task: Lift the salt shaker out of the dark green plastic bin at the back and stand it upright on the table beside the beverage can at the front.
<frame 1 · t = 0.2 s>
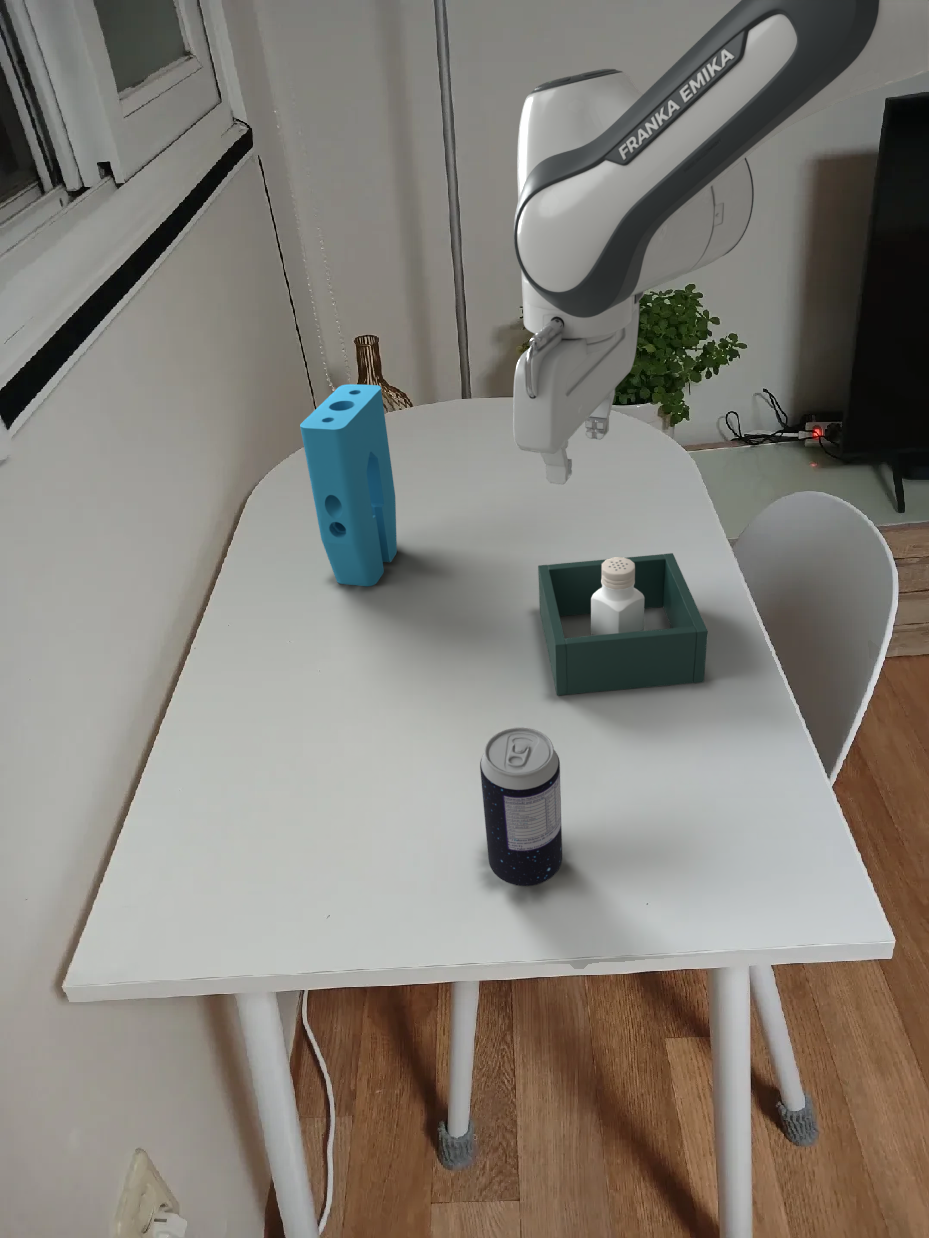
hand: (579, 457, 85), 21 cm above the table, tool pointing down, fingers open, 8 cm apart
bin: (616, 645, 96), on the table
salt shaker: (616, 647, 96), resting in bin
beverage can: (525, 866, 74), on the table
block: (367, 567, 113), on the table
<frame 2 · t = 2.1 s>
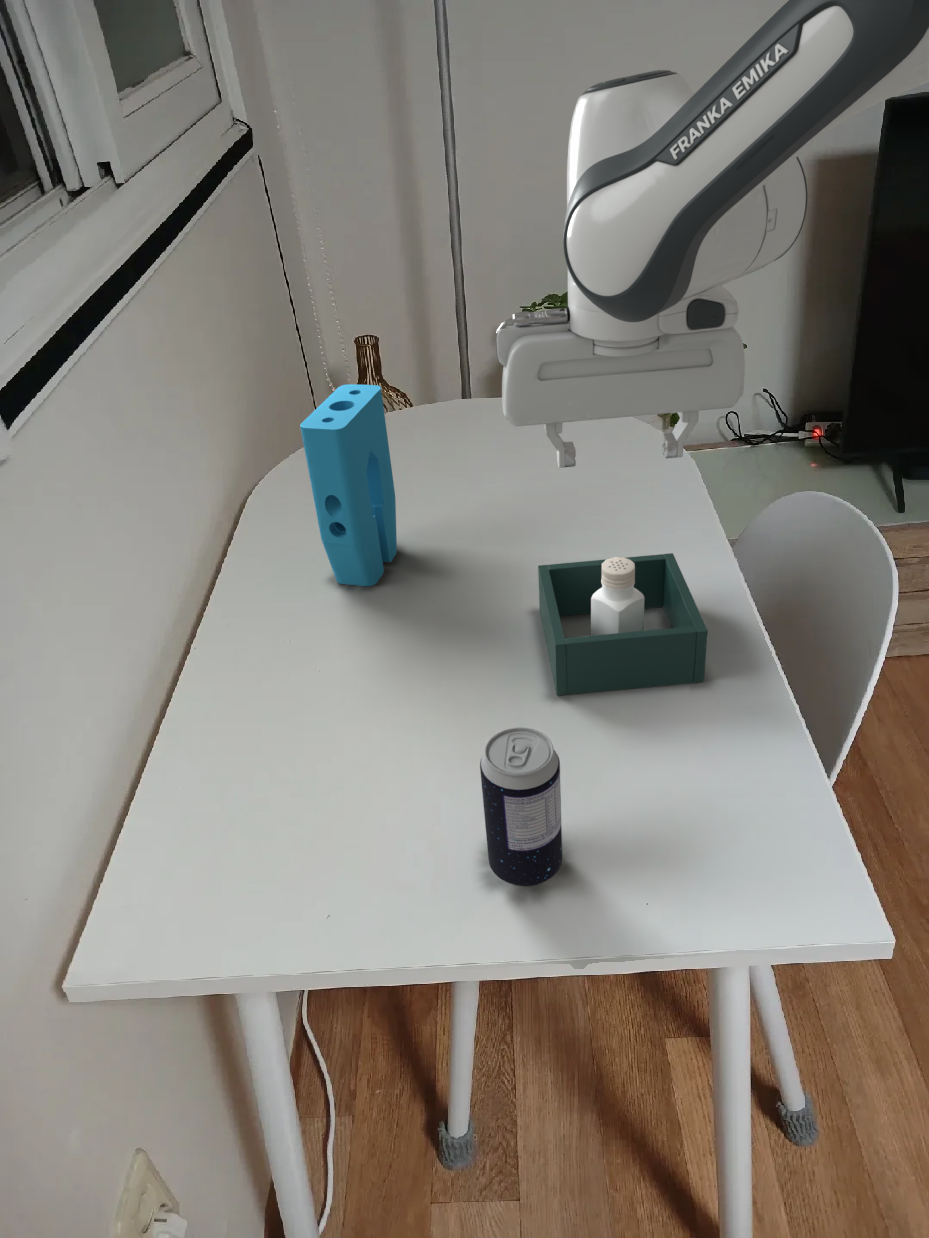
hand: (619, 460, 84), 20 cm above the table, tool pointing down, fingers open, 8 cm apart
nothing on the table moved.
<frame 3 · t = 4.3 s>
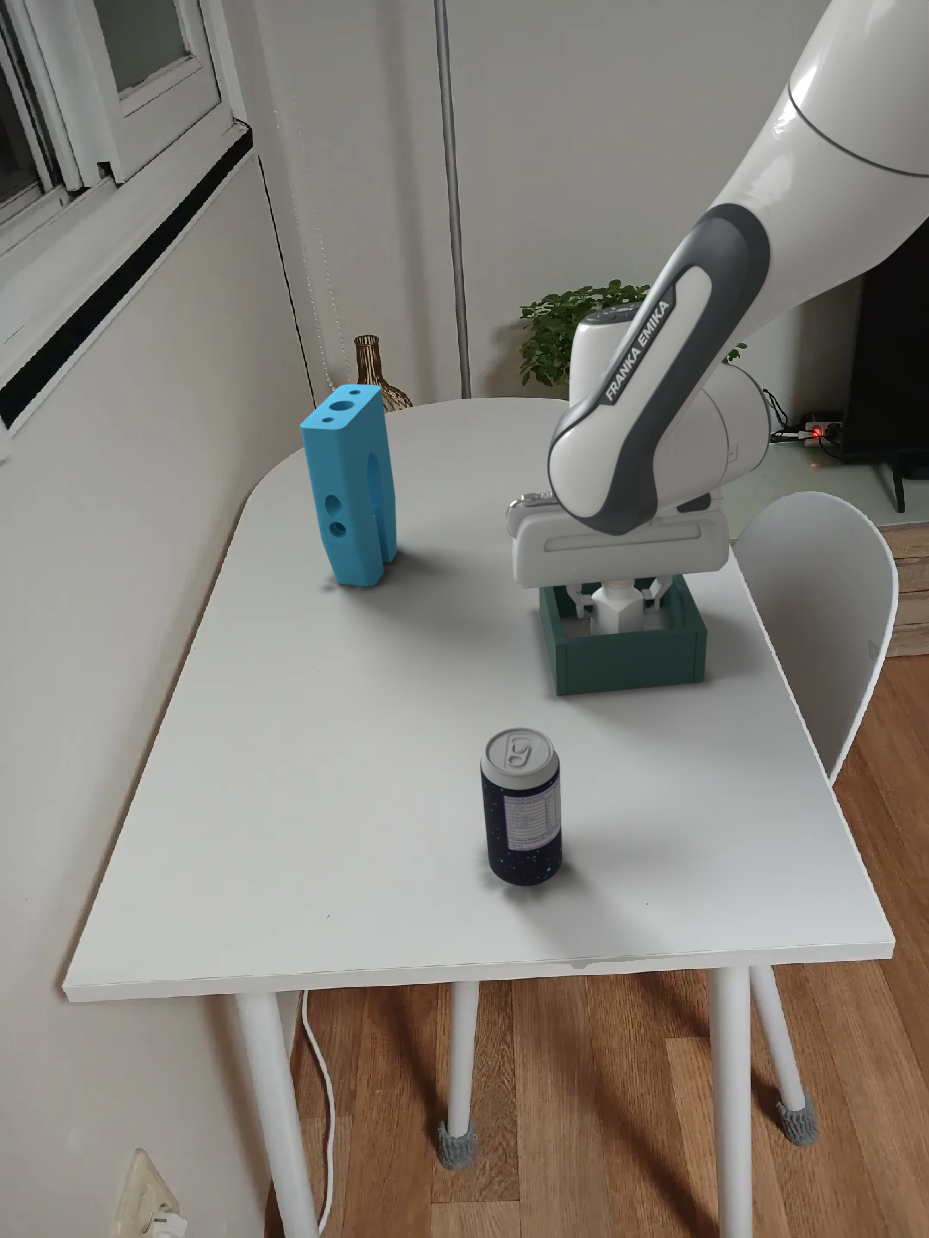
hand: (617, 611, 94), 4 cm above the table, tool pointing down, fingers closed on salt shaker, 5 cm apart
salt shaker: (616, 647, 96), resting in bin, touching gripper
everything else where it was.
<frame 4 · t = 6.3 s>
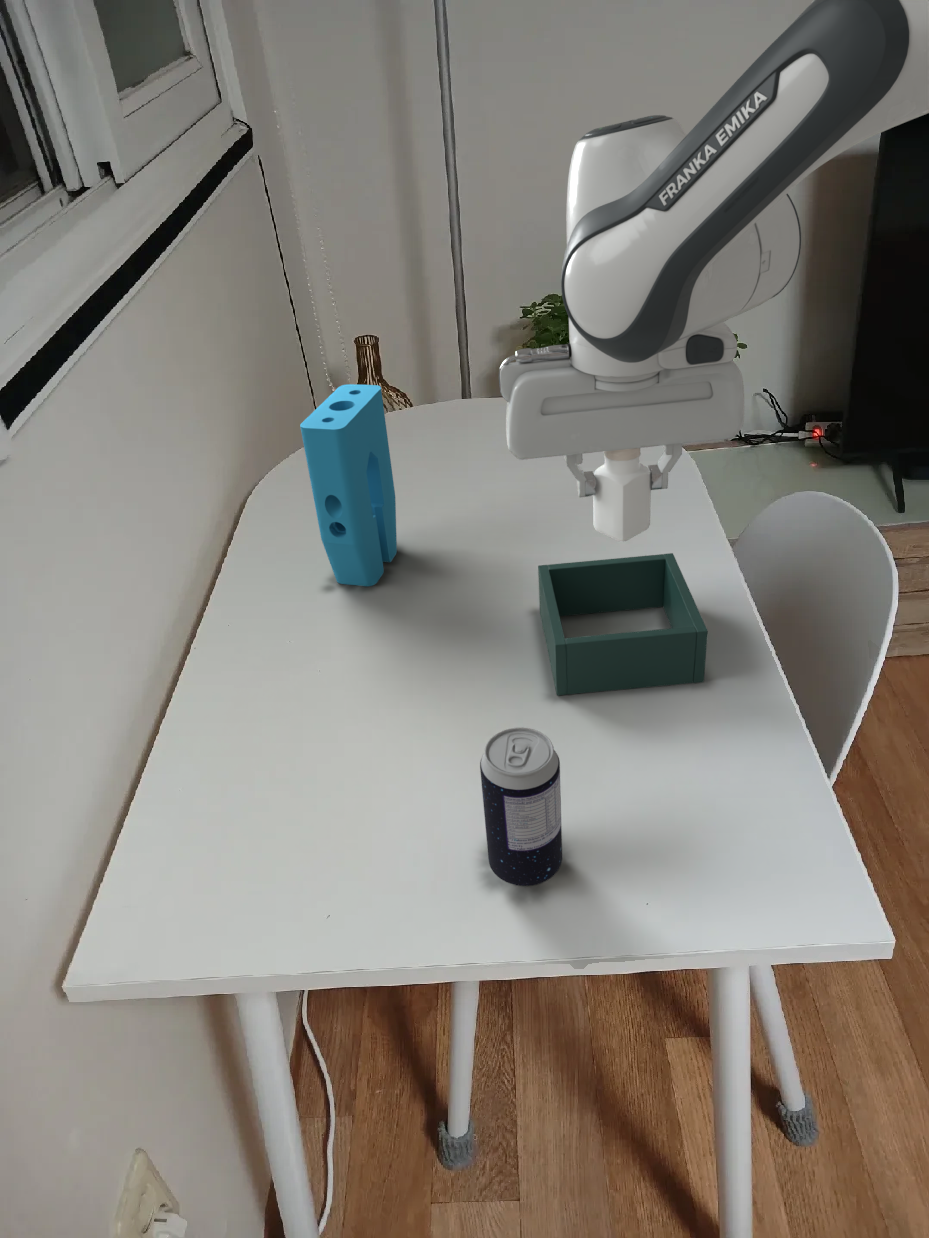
hand: (622, 490, 86), 18 cm above the table, tool pointing down, fingers closed on salt shaker, 5 cm apart
salt shaker: (621, 532, 88), point 13 cm above the table, touching gripper
everything else where it was.
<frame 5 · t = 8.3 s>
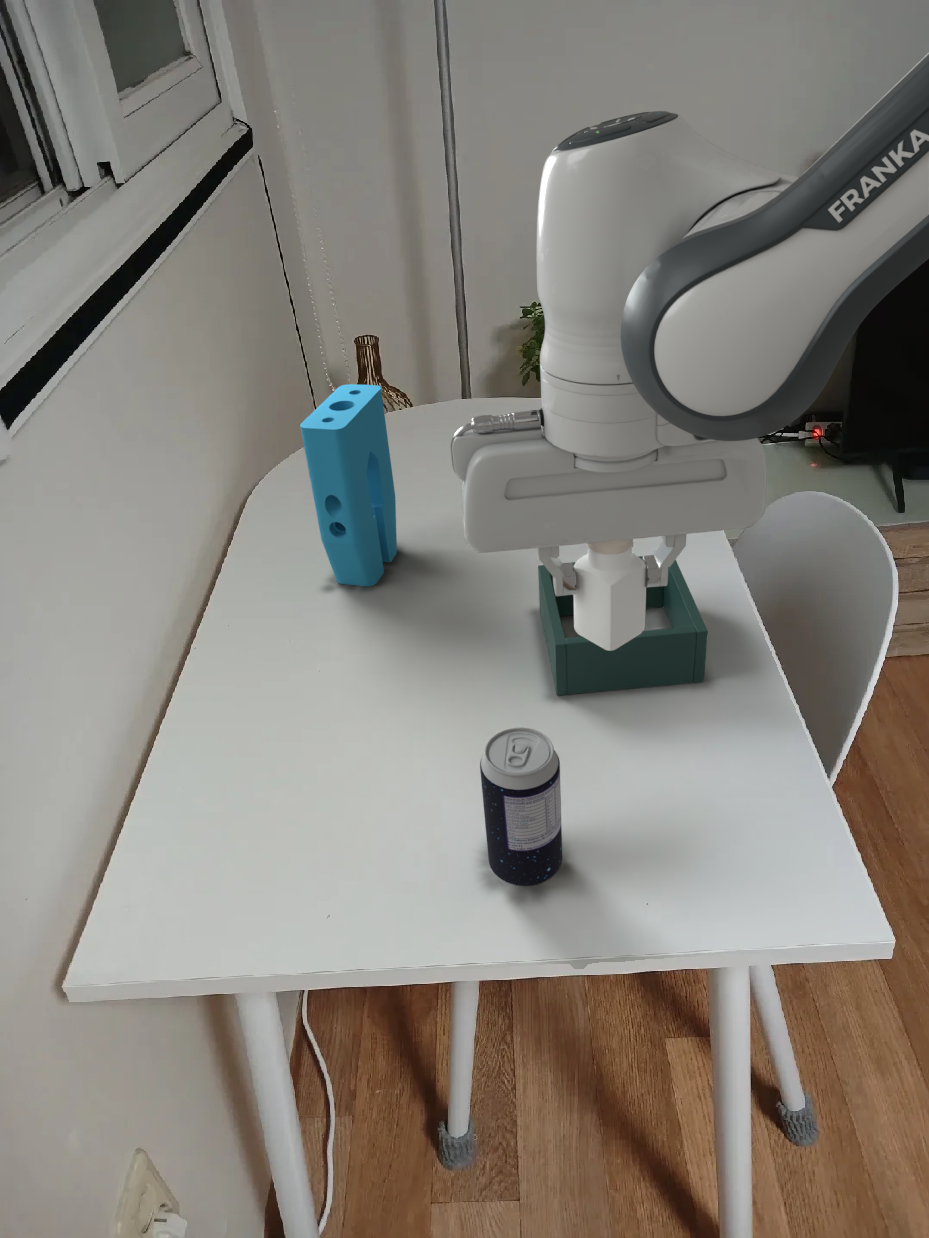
hand: (610, 587, 68), 20 cm above the table, tool pointing down, fingers closed on salt shaker, 5 cm apart
salt shaker: (609, 635, 71), point 16 cm above the table, touching gripper
everything else where it was.
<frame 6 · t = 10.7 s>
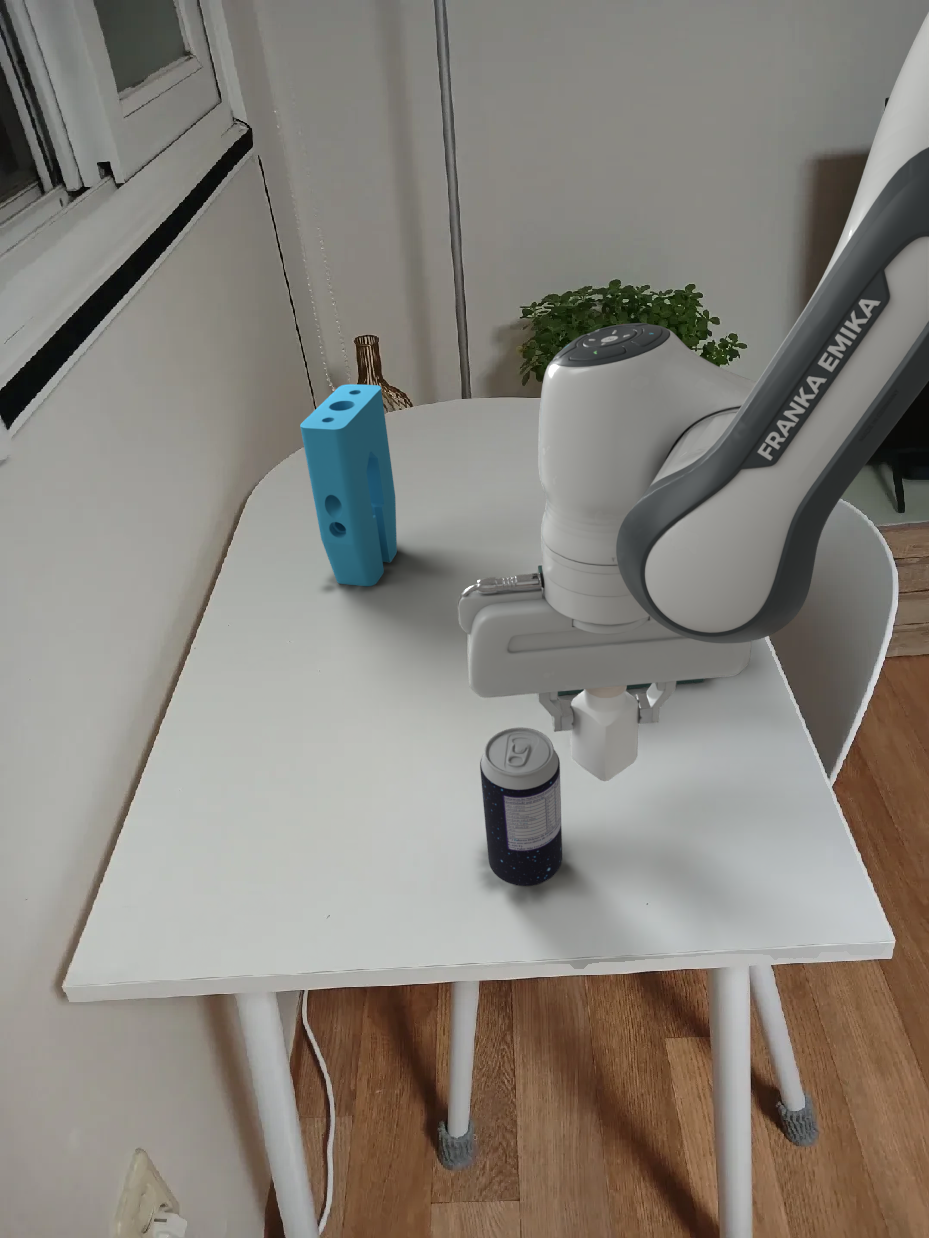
hand: (605, 722, 73), 9 cm above the table, tool pointing down, fingers closed on salt shaker, 5 cm apart
salt shaker: (604, 763, 75), point 5 cm above the table, touching gripper
everything else where it was.
when the fingers open (4 cm above the table, at t = 12.4 s): salt shaker stays where it is, on the table.
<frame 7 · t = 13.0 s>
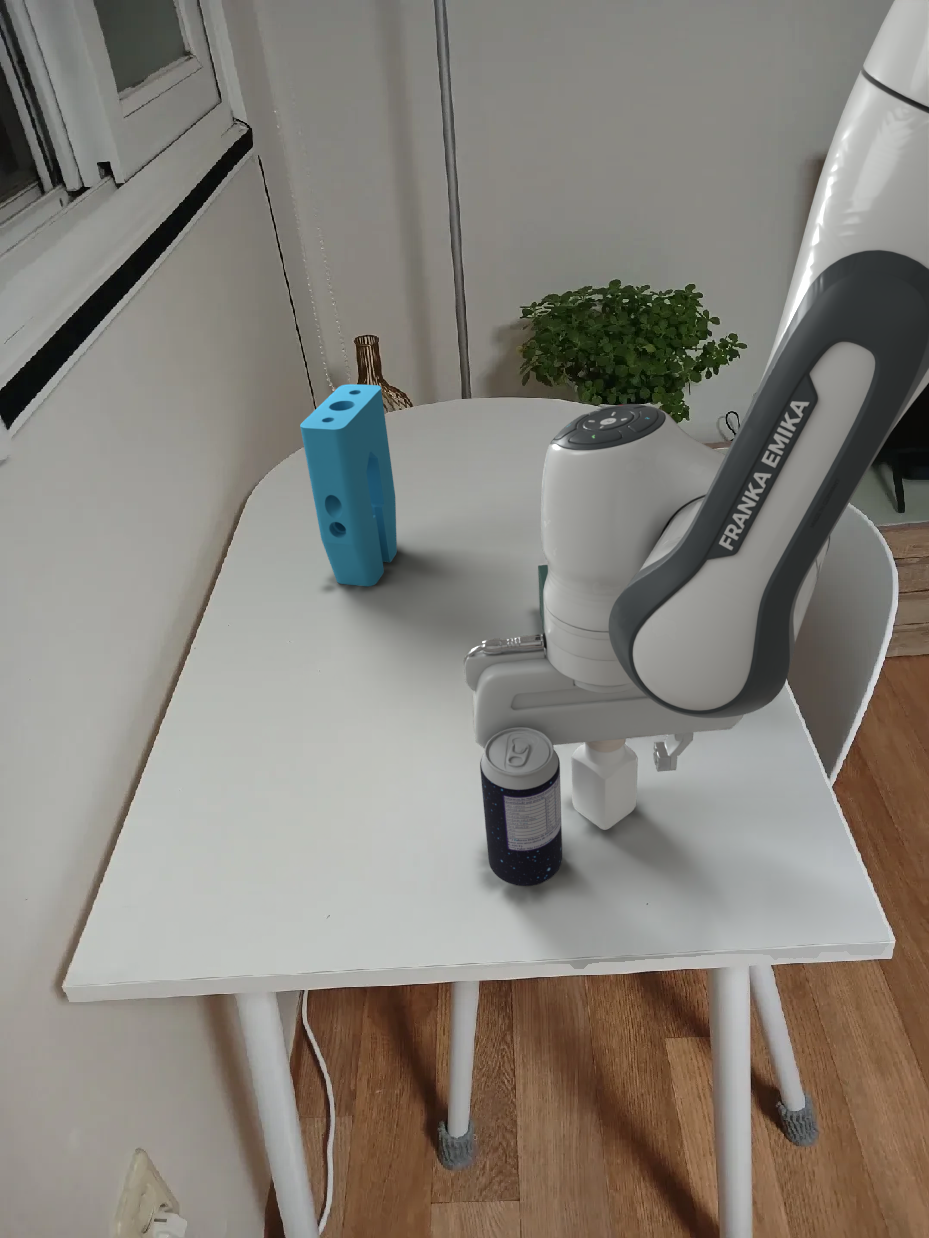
hand: (605, 771, 76), 4 cm above the table, tool pointing down, fingers open, 8 cm apart
salt shaker: (604, 811, 78), on the table
everything else where it was.
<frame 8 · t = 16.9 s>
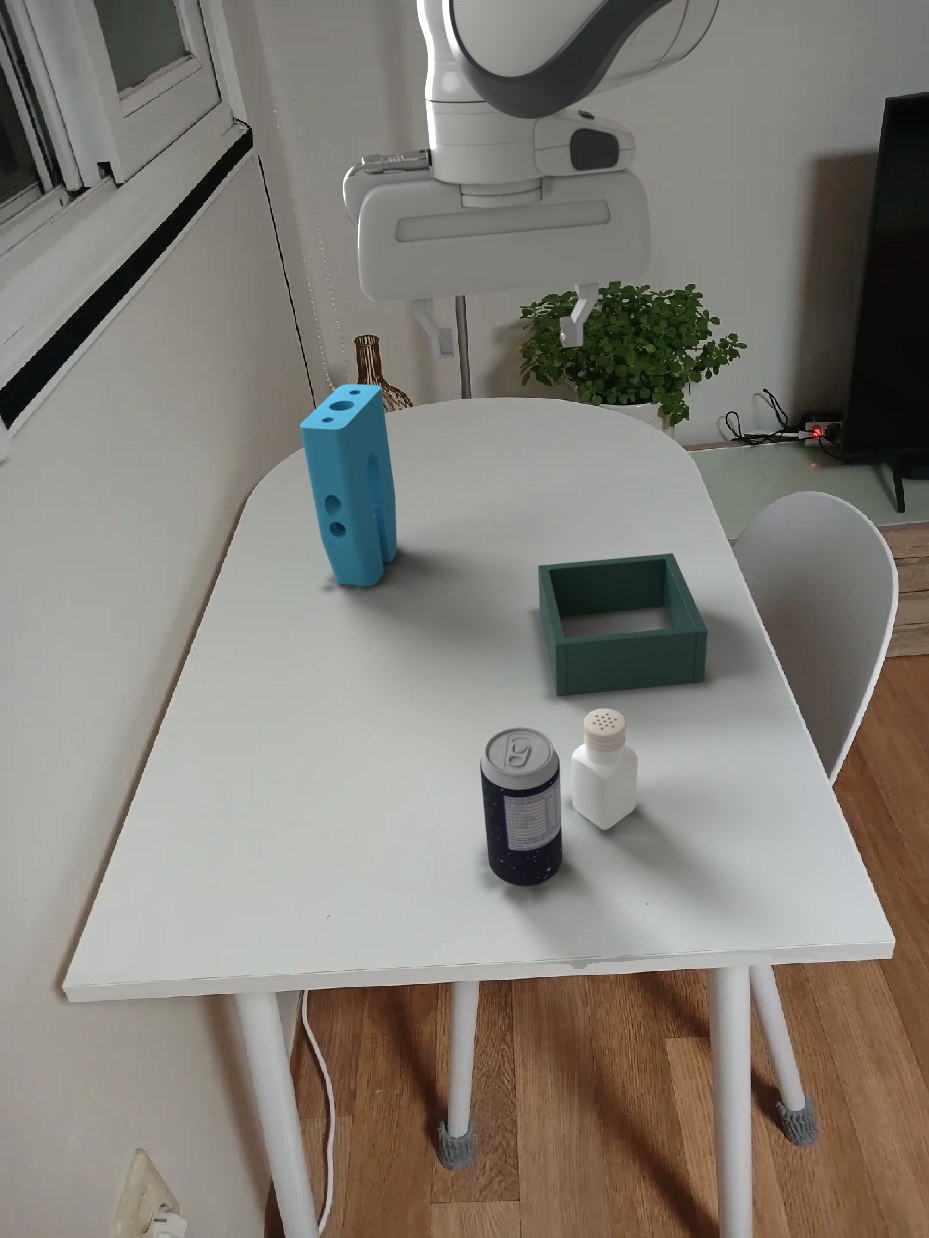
hand: (507, 350, 70), 34 cm above the table, tool pointing down, fingers open, 8 cm apart
nothing on the table moved.
at the end: salt shaker inside the target area (0.0 cm from its centre), on the table; salt shaker 8.6 cm from the beverage can (horizontally); salt shaker tilted 0° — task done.
